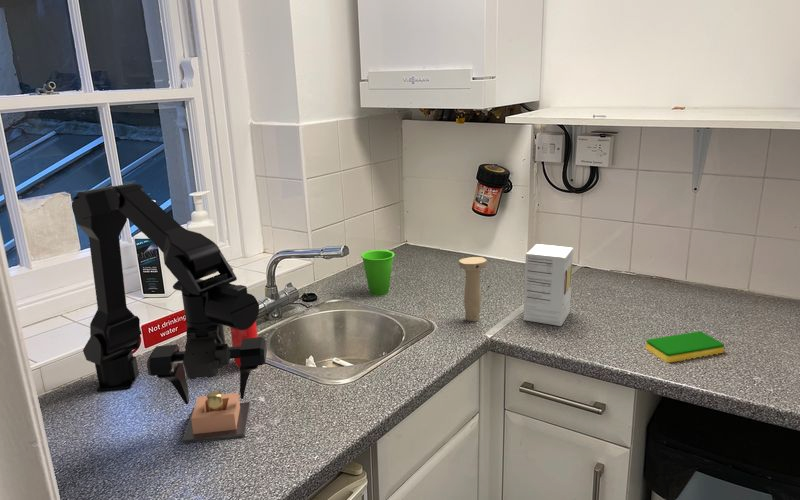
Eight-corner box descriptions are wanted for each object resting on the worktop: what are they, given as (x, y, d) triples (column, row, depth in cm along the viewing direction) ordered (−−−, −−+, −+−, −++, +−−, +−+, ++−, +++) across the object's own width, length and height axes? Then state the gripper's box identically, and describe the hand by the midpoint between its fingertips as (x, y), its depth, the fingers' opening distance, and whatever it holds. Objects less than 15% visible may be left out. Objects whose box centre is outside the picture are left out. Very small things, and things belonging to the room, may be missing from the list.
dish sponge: (644, 349, 127) (645, 339, 126) (699, 340, 130) (700, 330, 129) (667, 364, 120) (668, 353, 119) (724, 354, 123) (725, 344, 123)
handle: (456, 317, 145) (456, 259, 140) (480, 313, 146) (480, 256, 142) (464, 325, 140) (464, 265, 136) (489, 321, 142) (489, 261, 138)
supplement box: (561, 327, 138) (565, 258, 133) (522, 320, 142) (524, 253, 137) (570, 312, 146) (574, 246, 141) (533, 306, 150) (535, 242, 145)
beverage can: (230, 363, 125) (223, 311, 122) (251, 355, 128) (246, 303, 125) (243, 371, 121) (236, 317, 118) (264, 363, 125) (259, 310, 121)
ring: (193, 434, 100) (191, 418, 99) (200, 411, 106) (197, 396, 105) (236, 429, 101) (234, 413, 100) (240, 407, 107) (238, 392, 106)
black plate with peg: (182, 443, 98) (178, 413, 97) (193, 410, 108) (189, 383, 106) (244, 436, 100) (241, 407, 98) (250, 405, 109) (246, 377, 107)
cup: (392, 299, 157) (391, 259, 154) (359, 298, 159) (357, 259, 156) (398, 287, 166) (397, 249, 163) (366, 286, 167) (364, 249, 164)
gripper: (130, 342, 89) (146, 433, 94) (257, 331, 91) (267, 420, 96) (149, 314, 100) (162, 396, 104) (262, 305, 102) (271, 385, 107)
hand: (215, 400), depth 102 cm, fingers open, 9 cm apart
